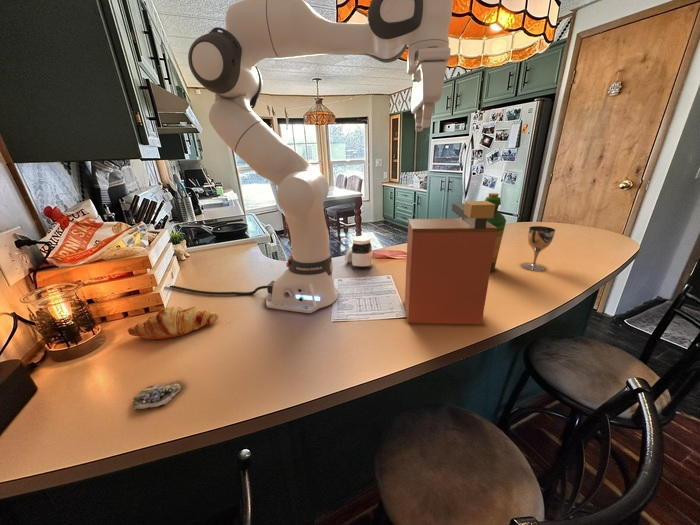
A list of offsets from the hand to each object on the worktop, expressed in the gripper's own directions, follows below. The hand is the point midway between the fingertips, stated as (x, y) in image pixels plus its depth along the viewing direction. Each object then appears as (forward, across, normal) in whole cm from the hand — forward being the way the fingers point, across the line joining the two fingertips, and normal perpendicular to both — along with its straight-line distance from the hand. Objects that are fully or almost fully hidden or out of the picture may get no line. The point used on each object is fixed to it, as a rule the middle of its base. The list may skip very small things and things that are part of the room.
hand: (422, 129), depth 68 cm
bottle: (+47, -25, +31) cm, 62 cm away
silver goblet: (+46, -26, +50) cm, 73 cm away
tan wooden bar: (+22, +3, +13) cm, 25 cm away
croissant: (+50, +17, -64) cm, 83 cm away
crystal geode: (+50, +38, -53) cm, 82 cm away
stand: (+48, +7, +8) cm, 49 cm away
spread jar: (+48, -29, -17) cm, 59 cm away
